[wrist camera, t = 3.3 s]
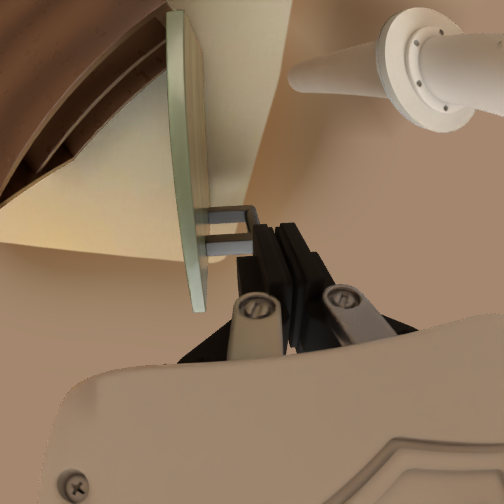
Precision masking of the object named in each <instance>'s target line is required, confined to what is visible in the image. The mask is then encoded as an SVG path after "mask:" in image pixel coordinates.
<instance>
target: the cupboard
mask: <svg viewBox="0 0 504 504" xmlns="http://www.w3.org/2000/svg"><path fill="white" fill-rule="evenodd" d="M169 11H172V9H171V8H170V6H169V4H168V3H167V1H166V0H0V209H1V208H2V207H3V206H5V205H6V204H7V203H9V202H10V201H11V200H13V199H14V198H15V197H17V196H18V195H20V194H21V193H23V192H24V191H25V190H27V189H28V188H30V187H31V186H33V185H34V184H36V183H37V182H39V181H40V180H42V179H43V178H45V177H47V176H48V175H50V174H51V173H53V172H55V171H56V170H58V169H60V168H61V167H63V166H65V165H66V164H68V163H70V162H71V161H73V160H74V159H75V158H76V157H77V155H78V154H79V153H80V152H81V151H82V150H83V148H84V147H85V146H86V145H87V144H88V143H89V142H90V141H91V140H92V138H93V137H94V136H95V135H96V134H97V133H98V132H99V131H100V130H101V129H102V128H103V127H104V126H105V125H106V124H107V123H108V122H109V121H110V120H111V119H112V118H113V117H114V116H115V115H116V114H117V113H118V112H119V111H120V110H121V109H122V108H123V107H124V106H125V105H126V104H127V103H128V102H129V101H130V100H131V99H133V98H134V97H135V96H136V95H137V94H138V93H139V92H140V91H141V90H143V89H144V88H145V87H146V86H147V85H148V84H150V83H151V82H152V81H153V80H154V79H155V78H157V77H158V76H159V75H160V74H162V73H163V72H164V71H165V70H167V68H166V13H167V12H169Z"/></svg>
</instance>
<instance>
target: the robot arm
mask: <svg viewBox="0 0 504 504" xmlns="http://www.w3.org/2000/svg"><path fill="white" fill-rule="evenodd" d="M405 66H406V72H407V75H408V79H409V81H410V83H411V86H412V88H413V89H414V91H415V93H416V94H417V96H418V97H419V98H420V99H421V101H422V102H423V103H425V104H426V105H427V106H428V107H430V108H431V109H433V110H435V111H438V112H441V113H446V114H450V113H455V112H458V111H460V110H461V109H463V108H464V107H469V108H473V109H477V110H481V111H485V112H489V113H493V114H496V115H499V116H503V117H504V34H455V35H453V34H452V33H450V32H449V31H447V30H445V29H443V28H441V27H438V26H425V27H421V28H419V29H417V30H416V31H414V32H413V33H412V34H411V36H410V37H409V39H408V42H407V44H406V49H405ZM237 278H238V291H239V298H238V299H237V300H236V301H235V304H234V306H233V314H232V319H231V320H230V321H229V322H228V323H226V324H225V325H224V326H223V327H221V328H220V329H219V330H217V331H216V332H215V333H214V334H212V335H211V336H210V337H208V338H207V339H206V340H205V341H203V342H202V343H201V344H200V345H198V346H197V347H196V348H194V349H193V350H192V351H190V352H189V353H188V354H186V355H185V356H184V357H183V358H182V359H180V361H179V362H178V363H177V364H163V365H146V366H136V367H128V368H122V369H116V370H111V371H108V372H105V373H101V374H98V375H94V376H92V377H90V378H87V379H86V380H83V381H81V382H79V383H78V384H77V385H75V386H74V387H73V388H72V389H71V390H70V391H69V392H68V393H67V394H66V396H65V397H64V399H63V401H62V403H61V404H60V407H59V409H58V411H57V414H56V416H55V418H54V421H53V424H52V427H51V430H50V434H49V438H48V442H47V445H46V450H45V453H44V458H43V463H42V469H41V475H40V482H39V491H38V499H37V504H504V315H503V314H484V315H477V316H473V317H469V318H466V319H461V320H457V321H453V322H450V323H447V324H443V325H439V326H435V327H431V328H428V329H424V330H420V331H419V330H417V329H415V328H414V327H411V326H409V325H406V324H404V323H401V322H399V321H396V320H394V319H391V318H389V317H386V316H384V315H381V314H380V313H379V312H378V311H377V310H376V308H375V307H374V306H373V305H372V304H371V303H370V301H369V300H368V299H367V298H366V297H365V296H364V294H363V293H361V292H360V291H359V290H358V289H356V288H354V287H352V286H349V285H343V284H338V285H336V284H335V282H334V281H333V279H332V277H331V276H330V274H329V272H328V270H327V268H326V266H325V265H324V263H323V261H322V260H321V258H320V256H319V254H318V253H317V252H310V250H309V248H308V246H307V244H306V243H305V241H304V239H303V237H302V235H301V234H300V232H299V230H298V228H297V226H296V225H295V223H281V224H280V227H276V228H275V233H274V231H273V228H272V227H268V226H267V224H256V225H253V256H246V257H237ZM288 340H289V344H290V347H291V348H292V347H295V349H296V352H297V354H291V355H286V351H287V344H288ZM85 476H86V477H85Z"/></svg>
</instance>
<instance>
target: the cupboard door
mask: <svg viewBox="0 0 504 504" xmlns="http://www.w3.org/2000/svg"><path fill="white" fill-rule="evenodd" d="M166 68H167V95H168V113H169V129H170V142H171V154H172V165H173V175H174V185H175V194H176V203H177V211H178V219H179V227H180V234H181V242H182V249H183V256H184V262H185V268H186V275H187V281H188V287H189V293H190V299H191V304H192V310H193V312H194V313H199V312H206V300H207V274H208V256H222V255H239V254H253V225H256V224H260V222H259V219H258V215H257V212H256V209H255V207H254V206H251V205H243V206H224V207H210V198H209V183H208V167H207V149H206V128H205V104H204V70H203V52H202V49H201V47H200V45H199V42H198V40H197V38H196V35H195V33H194V31H193V29H192V26H191V24H190V22H189V20H188V17H187V15H186V13H185V11H184V10H176V11H169V12H167V13H166ZM237 222H245V223H246V229H247V233H241V234H240V233H239V234H221V235H210V224H220V223H237Z"/></svg>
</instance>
